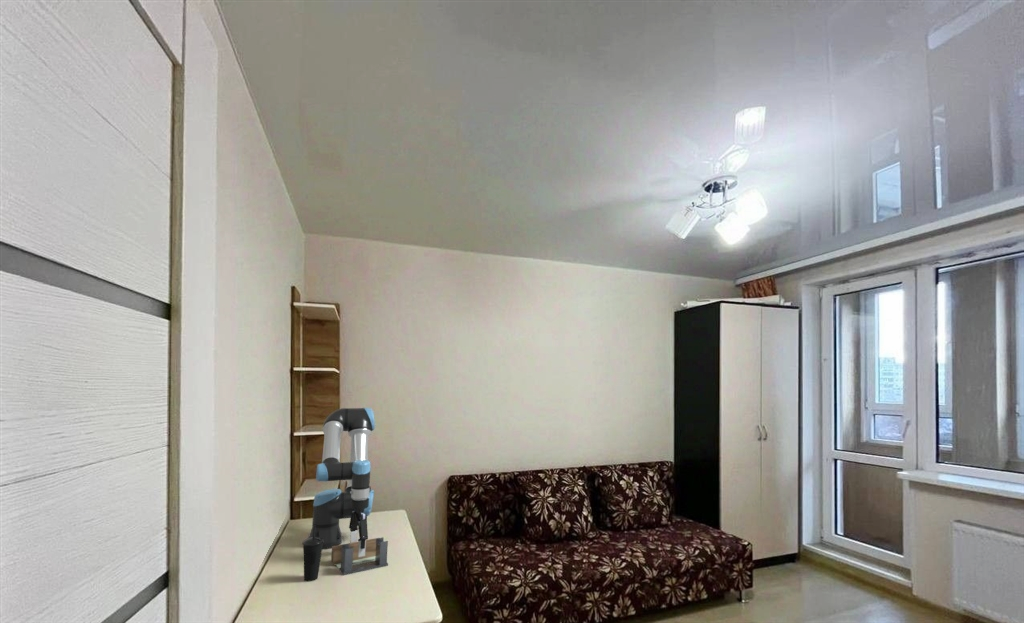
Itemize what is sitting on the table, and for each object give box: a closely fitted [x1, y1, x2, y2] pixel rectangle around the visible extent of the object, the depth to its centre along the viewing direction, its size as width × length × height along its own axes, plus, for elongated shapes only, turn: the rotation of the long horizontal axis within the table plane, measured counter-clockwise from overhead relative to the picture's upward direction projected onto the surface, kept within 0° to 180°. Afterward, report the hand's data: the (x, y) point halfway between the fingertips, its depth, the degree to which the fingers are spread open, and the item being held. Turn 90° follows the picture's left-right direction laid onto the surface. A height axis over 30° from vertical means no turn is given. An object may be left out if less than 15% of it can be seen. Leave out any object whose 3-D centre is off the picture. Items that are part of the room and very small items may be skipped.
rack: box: [338, 536, 389, 576], centre depth 193 cm, size 6×18×10 cm, turn 124°
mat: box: [335, 556, 375, 569], centre depth 201 cm, size 9×18×1 cm, turn 124°
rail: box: [330, 537, 378, 566], centre depth 201 cm, size 4×20×6 cm, turn 124°
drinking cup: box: [302, 524, 324, 582], centre depth 183 cm, size 8×8×20 cm
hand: (357, 551), depth 201 cm, fingers open, 11 cm apart
